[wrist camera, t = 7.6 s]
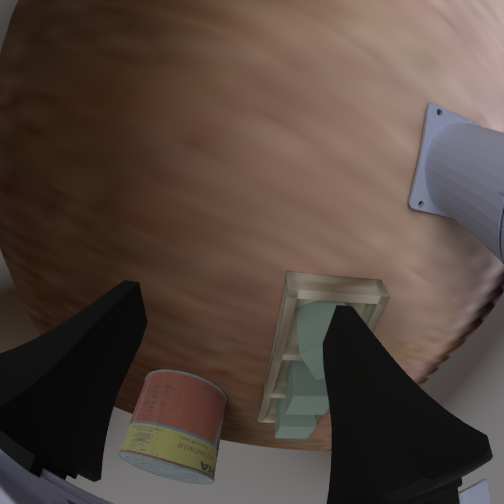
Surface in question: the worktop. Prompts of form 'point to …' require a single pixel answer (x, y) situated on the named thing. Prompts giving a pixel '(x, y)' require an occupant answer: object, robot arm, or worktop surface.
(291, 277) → the rack
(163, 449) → the canned food
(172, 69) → the worktop surface
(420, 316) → the worktop surface
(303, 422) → the seated block
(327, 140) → the worktop surface
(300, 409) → the seated block
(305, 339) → the loose block
